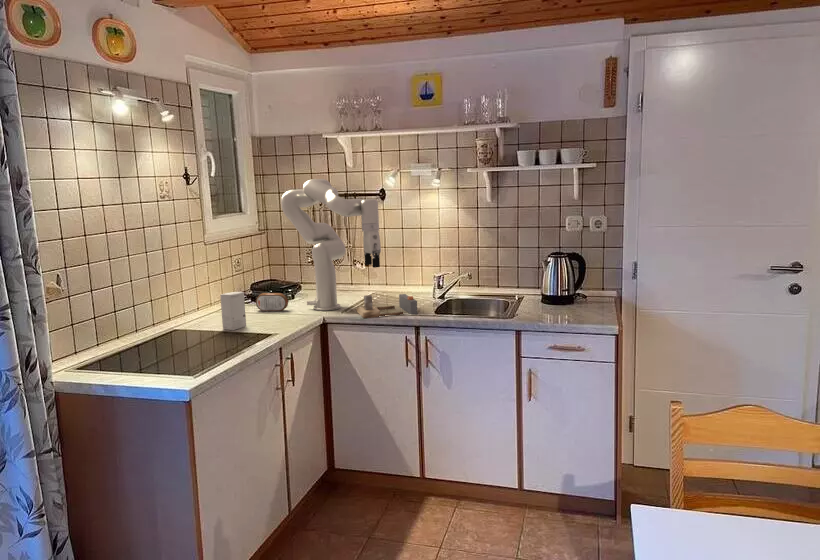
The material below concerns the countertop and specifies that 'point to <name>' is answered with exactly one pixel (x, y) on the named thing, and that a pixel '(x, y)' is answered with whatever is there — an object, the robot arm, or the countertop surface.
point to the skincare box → (233, 310)
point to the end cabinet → (407, 304)
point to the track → (383, 313)
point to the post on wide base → (368, 307)
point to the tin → (271, 302)
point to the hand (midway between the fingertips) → (372, 266)
